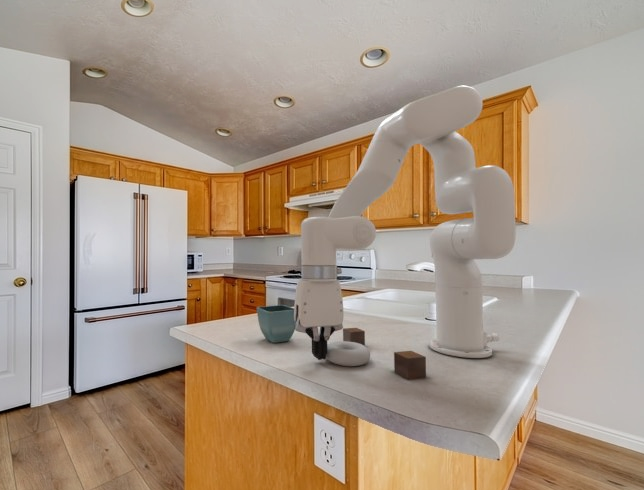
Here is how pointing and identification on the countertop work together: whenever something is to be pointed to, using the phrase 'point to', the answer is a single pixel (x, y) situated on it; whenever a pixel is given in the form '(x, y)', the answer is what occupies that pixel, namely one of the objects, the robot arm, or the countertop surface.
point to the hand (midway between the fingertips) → (319, 357)
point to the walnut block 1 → (354, 335)
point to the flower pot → (276, 322)
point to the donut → (347, 353)
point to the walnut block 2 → (410, 364)
